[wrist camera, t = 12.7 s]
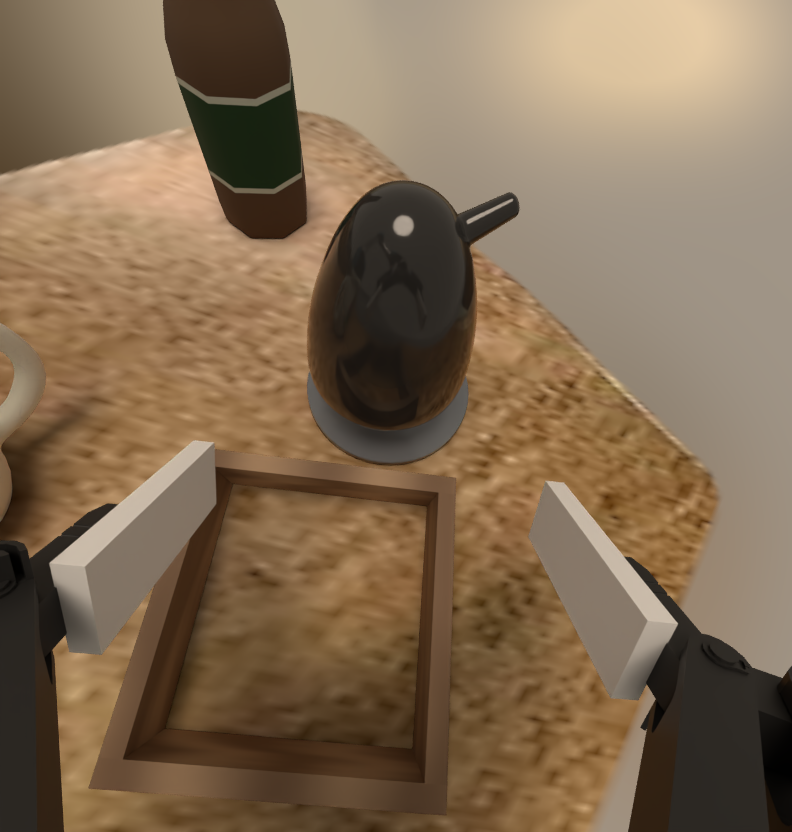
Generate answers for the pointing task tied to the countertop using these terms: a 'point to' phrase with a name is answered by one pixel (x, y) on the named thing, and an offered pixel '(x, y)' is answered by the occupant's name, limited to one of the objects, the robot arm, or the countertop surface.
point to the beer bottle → (241, 108)
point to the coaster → (387, 432)
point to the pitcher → (17, 399)
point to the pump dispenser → (398, 305)
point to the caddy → (277, 757)
